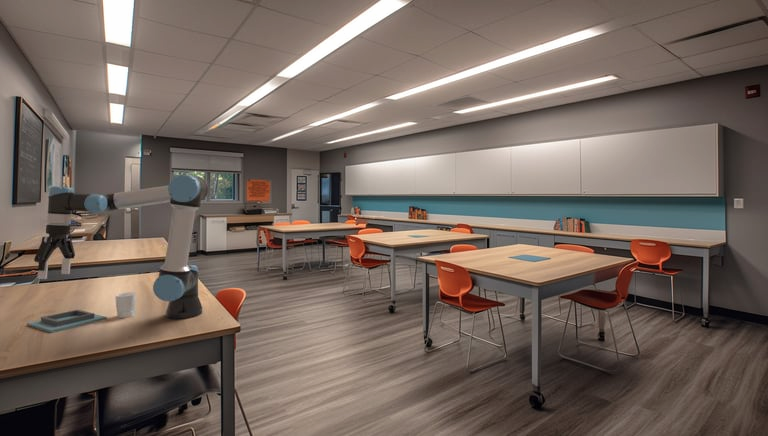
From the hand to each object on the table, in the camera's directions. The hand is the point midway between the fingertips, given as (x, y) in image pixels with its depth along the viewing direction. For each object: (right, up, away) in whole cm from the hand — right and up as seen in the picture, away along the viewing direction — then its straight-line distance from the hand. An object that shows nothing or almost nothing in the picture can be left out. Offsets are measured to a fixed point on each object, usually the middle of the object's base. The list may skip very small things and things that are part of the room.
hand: (54, 276), depth 152 cm
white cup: (+16, -21, +19) cm, 33 cm away
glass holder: (-2, -21, +9) cm, 23 cm away
